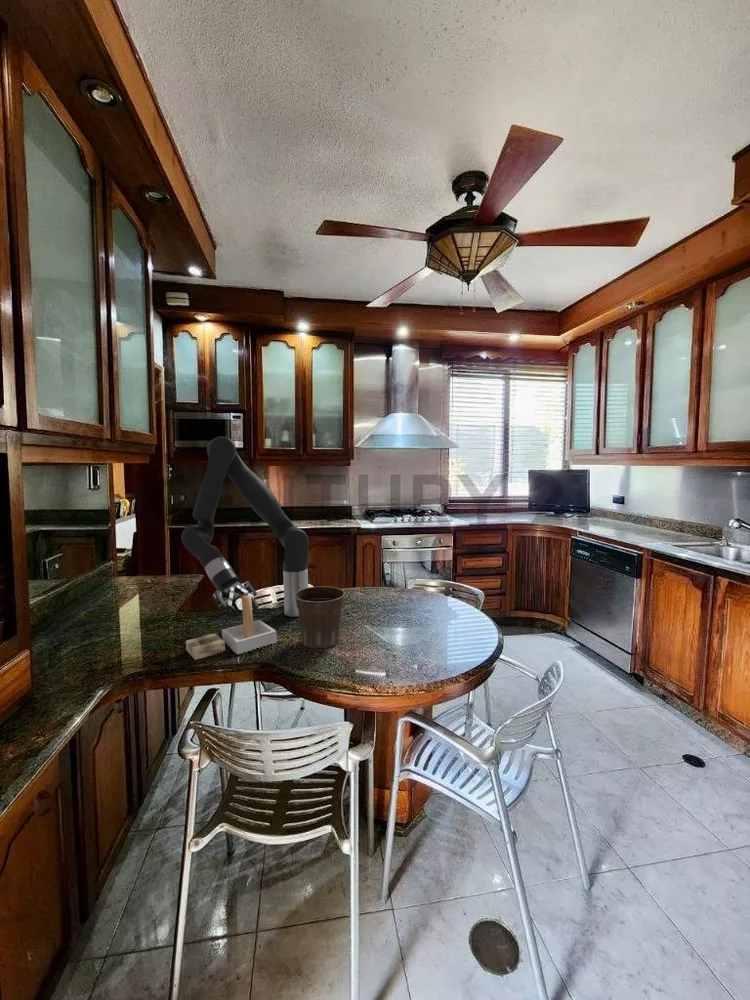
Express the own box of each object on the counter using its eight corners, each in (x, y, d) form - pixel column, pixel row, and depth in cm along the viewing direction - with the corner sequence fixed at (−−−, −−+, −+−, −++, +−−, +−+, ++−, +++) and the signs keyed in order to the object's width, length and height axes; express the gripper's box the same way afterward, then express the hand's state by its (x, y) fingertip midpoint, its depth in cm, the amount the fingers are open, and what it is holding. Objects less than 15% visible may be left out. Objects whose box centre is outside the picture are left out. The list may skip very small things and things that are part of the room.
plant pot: (355, 637, 143) (354, 590, 141) (326, 657, 129) (324, 604, 128) (316, 628, 151) (315, 583, 150) (285, 645, 137) (283, 596, 136)
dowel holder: (215, 642, 141) (214, 633, 141) (225, 651, 134) (224, 641, 134) (186, 650, 135) (185, 640, 135) (195, 660, 128) (194, 650, 128)
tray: (259, 631, 150) (259, 619, 149) (276, 643, 139) (276, 631, 139) (222, 641, 141) (221, 629, 141) (237, 654, 131) (237, 642, 131)
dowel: (251, 636, 142) (248, 595, 141) (255, 639, 140) (252, 597, 139) (242, 639, 141) (240, 597, 139) (246, 641, 138) (243, 599, 137)
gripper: (208, 572, 137) (235, 613, 132) (243, 562, 149) (268, 600, 144) (198, 586, 140) (224, 626, 135) (233, 575, 152) (257, 612, 147)
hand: (247, 613), depth 140 cm, fingers open, 8 cm apart
